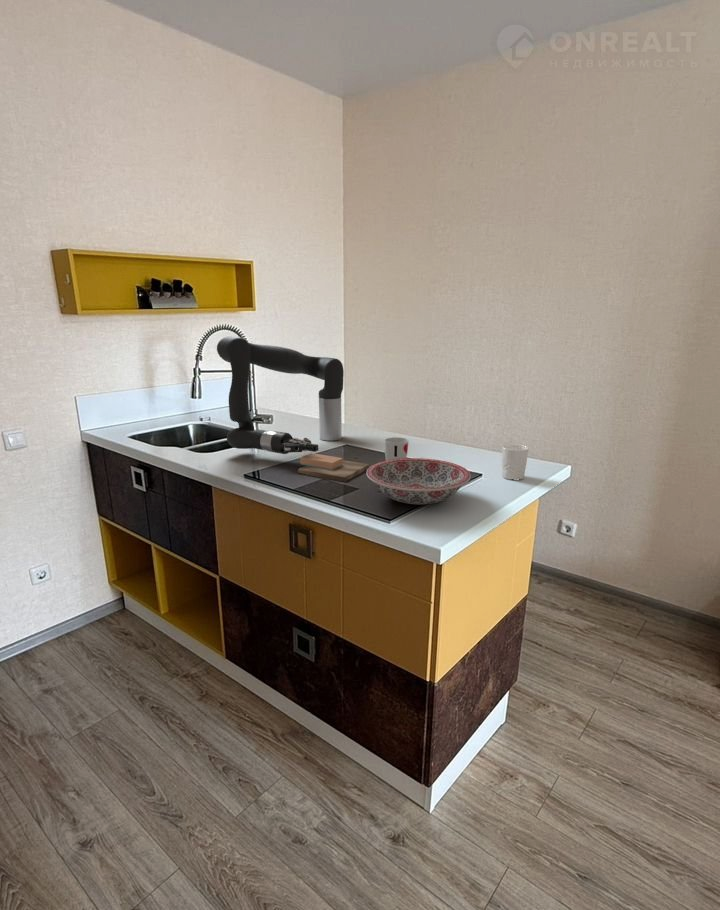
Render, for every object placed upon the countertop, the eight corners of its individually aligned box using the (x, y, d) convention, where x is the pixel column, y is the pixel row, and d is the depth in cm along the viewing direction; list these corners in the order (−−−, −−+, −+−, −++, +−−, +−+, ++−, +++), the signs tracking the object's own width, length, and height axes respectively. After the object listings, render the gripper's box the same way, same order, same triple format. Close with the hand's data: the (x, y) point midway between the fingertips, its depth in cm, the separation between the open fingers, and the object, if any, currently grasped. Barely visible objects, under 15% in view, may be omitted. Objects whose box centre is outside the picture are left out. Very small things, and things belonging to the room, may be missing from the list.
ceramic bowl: (469, 522, 133) (470, 492, 131) (356, 514, 138) (356, 485, 136) (469, 485, 160) (470, 460, 158) (375, 479, 166) (375, 455, 164)
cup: (391, 473, 172) (392, 444, 169) (379, 467, 179) (379, 438, 176) (412, 470, 176) (413, 441, 173) (399, 464, 182) (400, 436, 180)
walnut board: (324, 461, 186) (324, 457, 185) (369, 468, 177) (369, 464, 177) (298, 473, 172) (298, 469, 172) (344, 481, 164) (344, 477, 163)
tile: (311, 453, 182) (342, 458, 176) (311, 459, 183) (342, 465, 176) (300, 457, 177) (332, 462, 170) (300, 464, 177) (332, 469, 171)
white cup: (521, 482, 163) (524, 451, 160) (497, 478, 167) (499, 448, 164) (528, 476, 169) (531, 446, 166) (504, 472, 173) (506, 443, 170)
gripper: (263, 435, 178) (305, 441, 169) (287, 428, 189) (327, 433, 181) (264, 456, 180) (306, 463, 172) (288, 448, 191) (328, 454, 183)
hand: (317, 448), depth 176 cm, fingers closed
